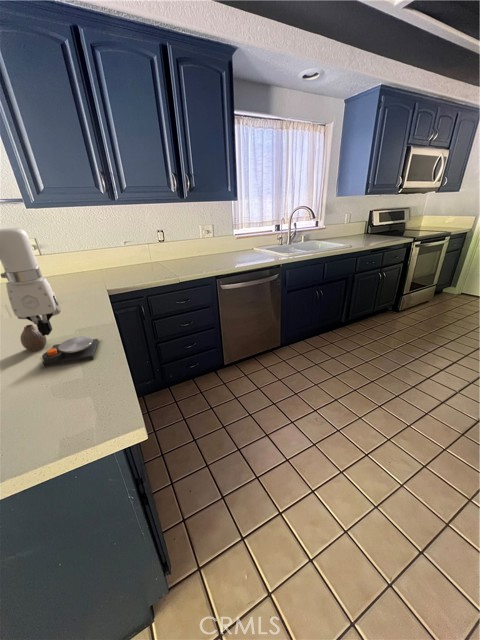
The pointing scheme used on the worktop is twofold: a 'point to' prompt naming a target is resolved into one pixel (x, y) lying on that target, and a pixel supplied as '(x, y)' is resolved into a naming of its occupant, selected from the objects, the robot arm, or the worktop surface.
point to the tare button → (52, 352)
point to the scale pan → (75, 344)
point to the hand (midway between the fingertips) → (47, 333)
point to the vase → (32, 338)
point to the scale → (70, 355)
